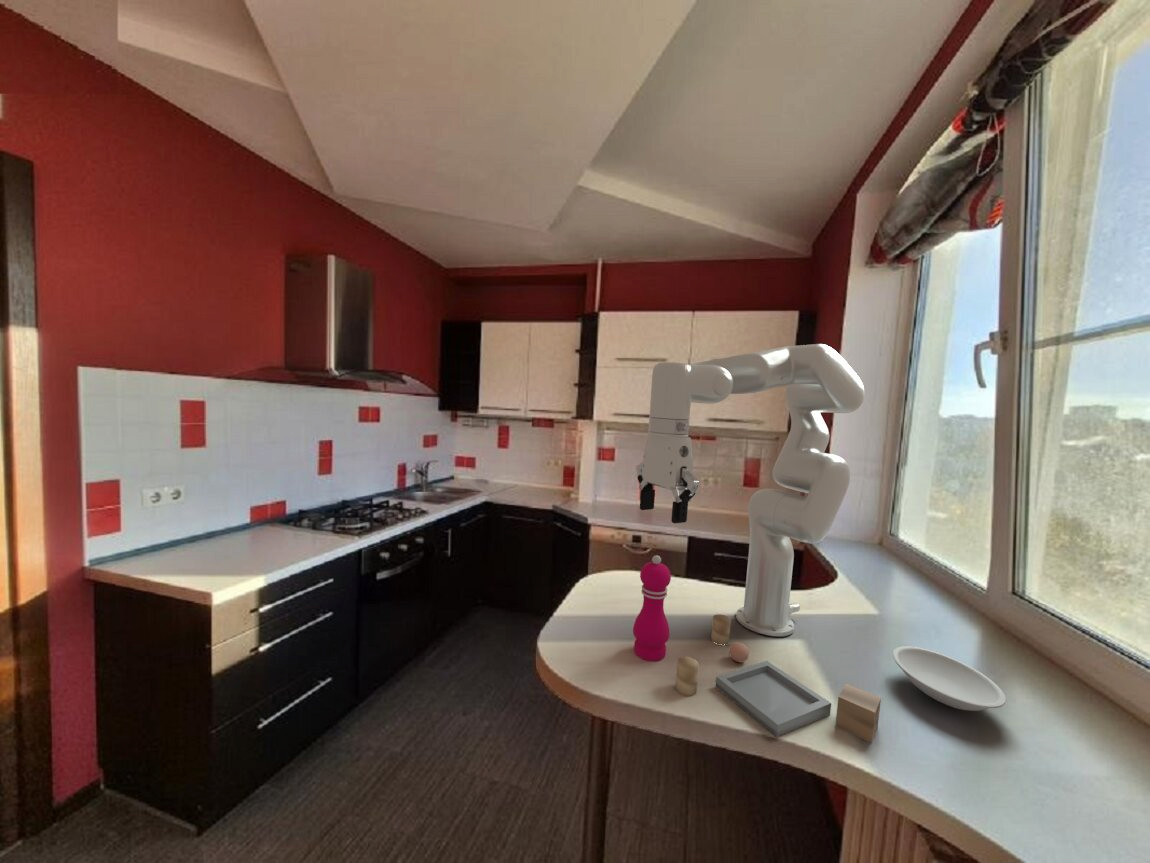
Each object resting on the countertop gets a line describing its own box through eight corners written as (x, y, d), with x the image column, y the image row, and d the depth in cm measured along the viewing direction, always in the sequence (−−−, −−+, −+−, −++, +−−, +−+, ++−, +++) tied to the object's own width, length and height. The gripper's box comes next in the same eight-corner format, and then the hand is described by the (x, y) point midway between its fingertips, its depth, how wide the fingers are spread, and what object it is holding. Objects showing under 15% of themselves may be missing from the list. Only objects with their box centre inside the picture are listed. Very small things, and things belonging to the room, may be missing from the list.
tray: (765, 670, 87) (766, 660, 87) (830, 714, 76) (831, 703, 76) (715, 686, 81) (716, 676, 81) (776, 737, 70) (777, 724, 70)
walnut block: (842, 711, 77) (845, 683, 77) (877, 727, 74) (881, 697, 73) (835, 726, 73) (838, 696, 73) (871, 743, 70) (875, 712, 70)
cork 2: (719, 635, 100) (721, 613, 99) (732, 643, 97) (734, 621, 96) (707, 638, 98) (709, 616, 98) (719, 647, 95) (721, 624, 94)
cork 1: (686, 681, 83) (689, 654, 82) (700, 693, 79) (703, 666, 79) (671, 685, 81) (673, 659, 81) (684, 698, 78) (686, 670, 77)
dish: (870, 667, 91) (873, 643, 90) (944, 672, 90) (947, 648, 90) (938, 732, 73) (942, 703, 73) (1030, 739, 73) (1034, 709, 72)
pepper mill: (667, 665, 87) (675, 564, 85) (630, 659, 88) (637, 559, 87) (668, 645, 94) (675, 551, 93) (633, 640, 96) (639, 547, 94)
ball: (737, 653, 93) (739, 637, 92) (752, 663, 89) (753, 646, 89) (724, 657, 91) (726, 640, 91) (738, 667, 88) (740, 649, 87)
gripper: (716, 432, 81) (708, 526, 82) (655, 424, 96) (650, 503, 98) (684, 432, 77) (677, 530, 79) (626, 423, 93) (621, 506, 94)
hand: (662, 515), depth 88 cm, fingers open, 9 cm apart
